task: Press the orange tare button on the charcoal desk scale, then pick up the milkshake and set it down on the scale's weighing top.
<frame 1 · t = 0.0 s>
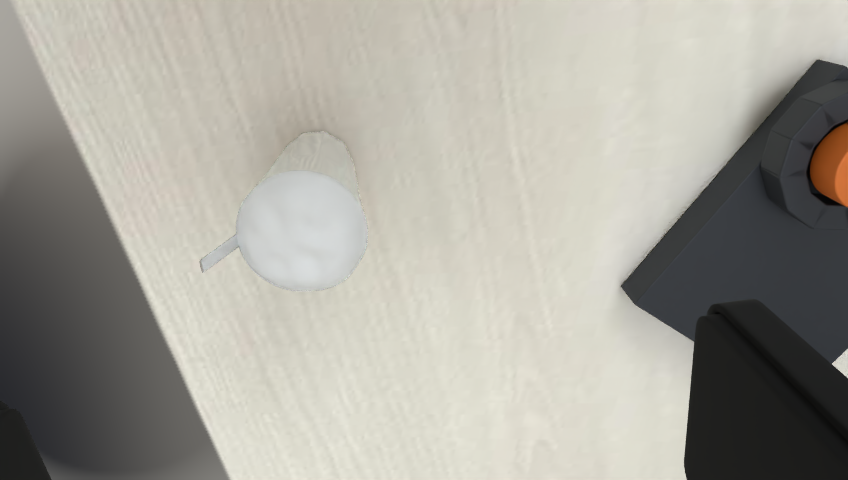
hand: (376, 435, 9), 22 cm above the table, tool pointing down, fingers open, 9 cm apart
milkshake: (309, 163, 30), on the table
scale: (792, 238, 34), on the table
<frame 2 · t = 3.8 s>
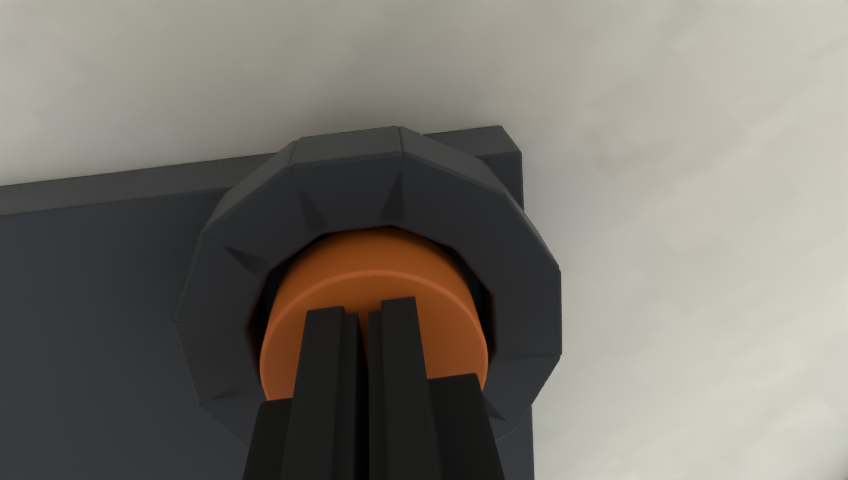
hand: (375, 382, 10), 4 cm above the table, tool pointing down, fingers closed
scale: (227, 403, 15), on the table
tare button: (374, 342, 11), point 4 cm above the table, slide at -0.3 cm, touching gripper
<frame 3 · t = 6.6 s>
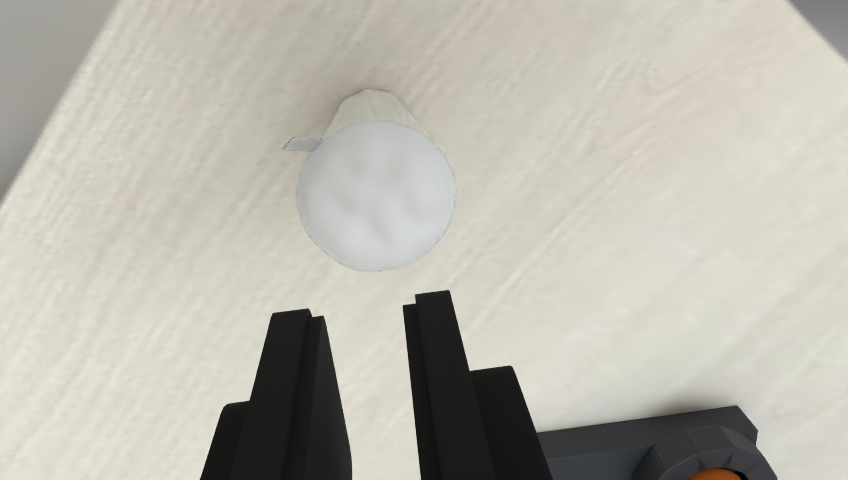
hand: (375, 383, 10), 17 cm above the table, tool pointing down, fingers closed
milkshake: (366, 120, 26), on the table
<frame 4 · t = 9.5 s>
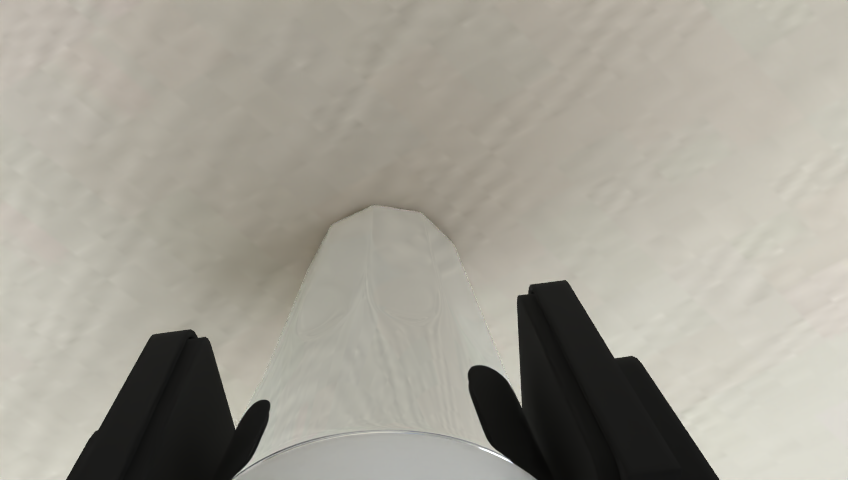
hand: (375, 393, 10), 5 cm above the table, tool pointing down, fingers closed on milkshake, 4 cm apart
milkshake: (372, 255, 14), on the table, touching gripper
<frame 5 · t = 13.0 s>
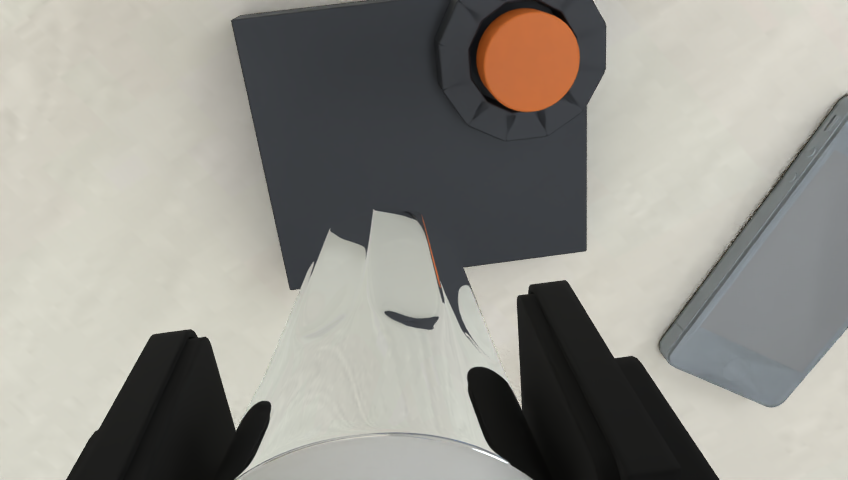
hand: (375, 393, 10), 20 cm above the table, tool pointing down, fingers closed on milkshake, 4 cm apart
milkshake: (372, 256, 14), point 16 cm above the table, touching gripper
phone: (798, 256, 34), on the table
scale: (422, 135, 29), on the table
tare button: (526, 60, 24), point 4 cm above the table, slide at 0.1 cm
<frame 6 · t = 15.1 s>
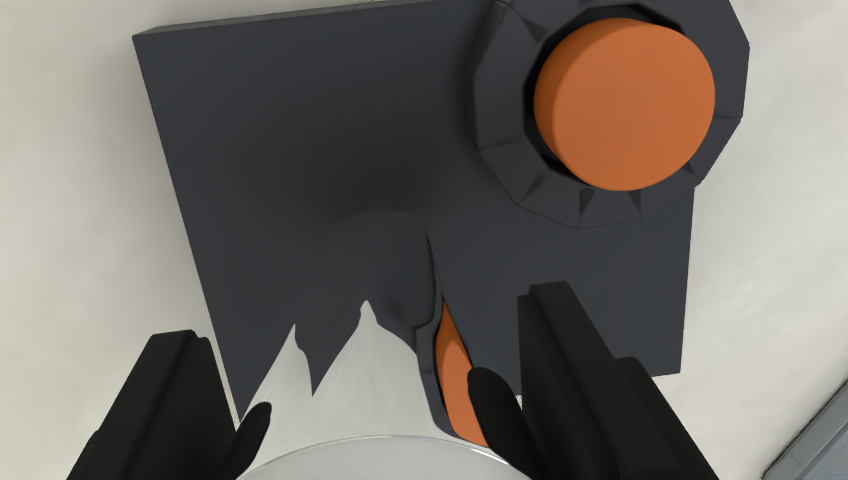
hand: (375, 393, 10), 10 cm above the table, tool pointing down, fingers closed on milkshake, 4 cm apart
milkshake: (372, 257, 14), point 5 cm above the table, touching gripper
scale: (440, 205, 20), on the table
tare button: (619, 104, 15), point 4 cm above the table, slide at 0.1 cm
when the fingers open (7 cm above the table, at t = 16.6 s): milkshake stays where it is, resting on scale.
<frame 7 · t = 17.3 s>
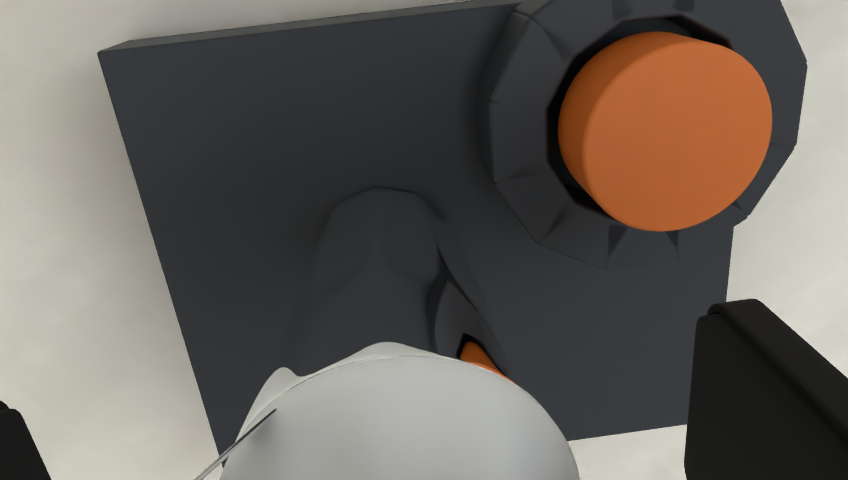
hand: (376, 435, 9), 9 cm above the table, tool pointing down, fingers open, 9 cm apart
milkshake: (372, 235, 15), point 2 cm above the table, touching scale
scale: (448, 237, 18), on the table
tare button: (658, 131, 13), point 4 cm above the table, slide at 0.1 cm
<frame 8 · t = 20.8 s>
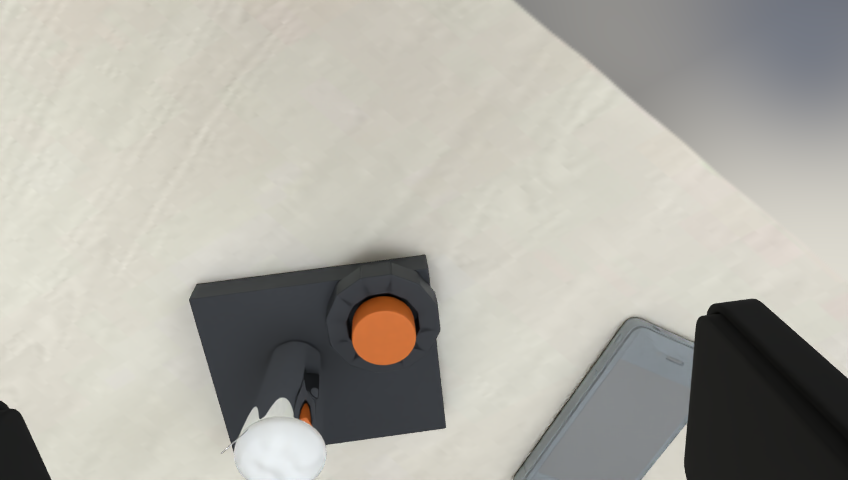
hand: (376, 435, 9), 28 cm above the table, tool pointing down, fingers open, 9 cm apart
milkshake: (291, 356, 40), point 2 cm above the table, touching scale
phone: (611, 418, 46), on the table
scale: (327, 351, 42), on the table
tare button: (383, 330, 37), point 4 cm above the table, slide at 0.1 cm
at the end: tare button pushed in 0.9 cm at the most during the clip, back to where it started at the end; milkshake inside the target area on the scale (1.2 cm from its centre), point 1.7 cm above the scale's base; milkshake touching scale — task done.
